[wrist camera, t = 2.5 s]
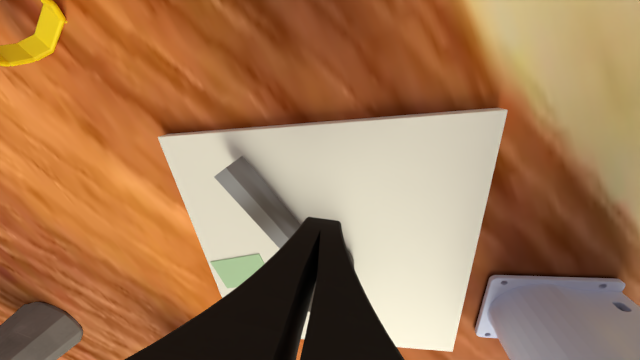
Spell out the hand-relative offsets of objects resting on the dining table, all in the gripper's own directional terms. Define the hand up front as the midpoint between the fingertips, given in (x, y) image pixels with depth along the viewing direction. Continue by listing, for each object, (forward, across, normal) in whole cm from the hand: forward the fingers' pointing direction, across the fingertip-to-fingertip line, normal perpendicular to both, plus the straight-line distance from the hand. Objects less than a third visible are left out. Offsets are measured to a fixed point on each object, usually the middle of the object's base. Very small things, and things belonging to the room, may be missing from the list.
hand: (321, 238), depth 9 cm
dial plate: (+9, 0, +9) cm, 13 cm away
